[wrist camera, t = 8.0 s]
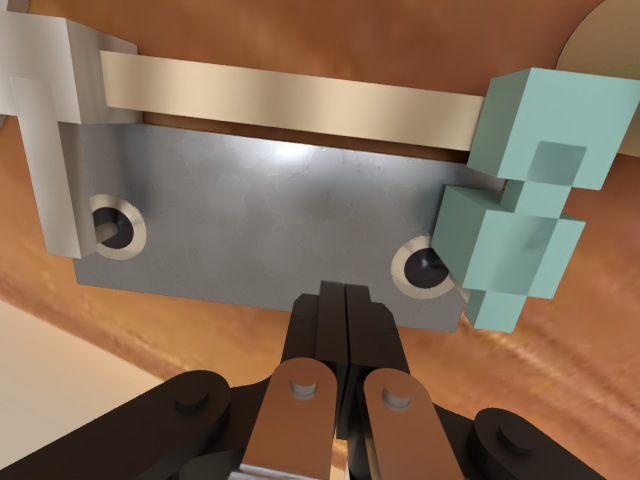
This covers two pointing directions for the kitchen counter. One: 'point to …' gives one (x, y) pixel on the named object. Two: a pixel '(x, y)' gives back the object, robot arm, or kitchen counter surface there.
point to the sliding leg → (529, 186)
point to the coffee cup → (609, 53)
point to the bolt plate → (268, 220)
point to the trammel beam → (179, 109)
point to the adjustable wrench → (13, 3)
